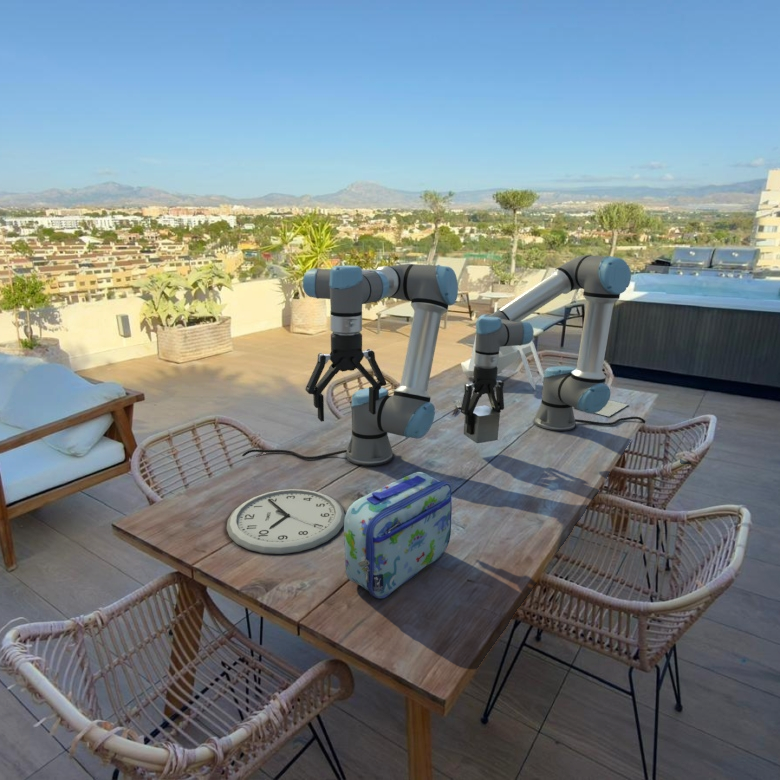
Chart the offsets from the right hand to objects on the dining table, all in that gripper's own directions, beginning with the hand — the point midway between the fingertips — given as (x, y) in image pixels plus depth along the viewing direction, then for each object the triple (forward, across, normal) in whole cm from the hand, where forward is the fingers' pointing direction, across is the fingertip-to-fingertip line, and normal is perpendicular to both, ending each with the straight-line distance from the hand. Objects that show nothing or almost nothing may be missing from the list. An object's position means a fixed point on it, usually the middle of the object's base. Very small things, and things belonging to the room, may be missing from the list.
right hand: (480, 431), depth 174 cm
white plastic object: (+8, +55, +68) cm, 88 cm away
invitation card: (+8, +77, +23) cm, 81 cm away
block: (+2, 0, 0) cm, 2 cm away
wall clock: (+8, -69, -17) cm, 72 cm away
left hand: (-19, -54, -20) cm, 60 cm away
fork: (+8, +15, +41) cm, 45 cm away
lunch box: (+8, -51, -48) cm, 70 cm away
